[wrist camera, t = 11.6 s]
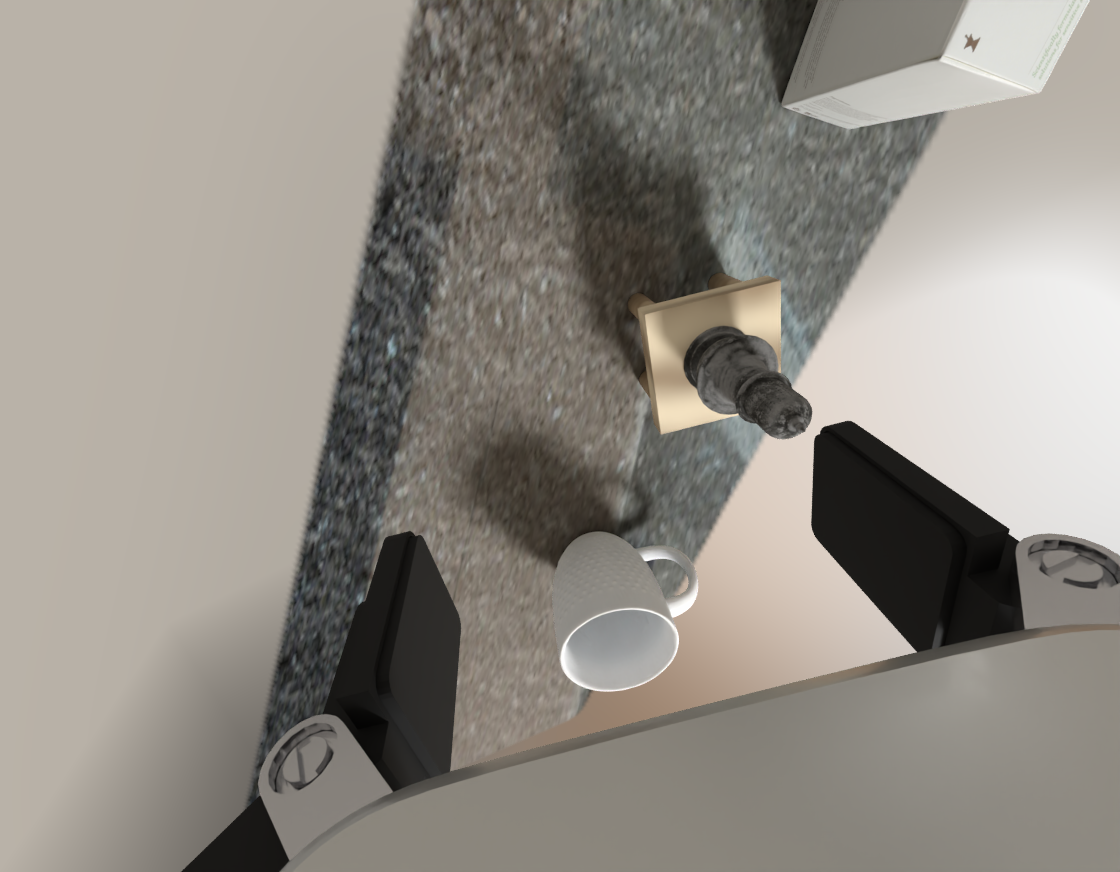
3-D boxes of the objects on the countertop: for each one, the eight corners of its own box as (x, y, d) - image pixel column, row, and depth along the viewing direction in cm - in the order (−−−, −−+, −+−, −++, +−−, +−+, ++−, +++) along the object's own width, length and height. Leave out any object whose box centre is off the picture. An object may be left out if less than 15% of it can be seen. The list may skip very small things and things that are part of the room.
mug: (663, 489, 53) (710, 577, 41) (683, 562, 58) (729, 658, 46) (531, 533, 53) (541, 632, 42) (562, 601, 58) (579, 706, 47)
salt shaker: (675, 333, 36) (749, 397, 26) (753, 312, 36) (859, 367, 26) (684, 404, 39) (754, 488, 28) (756, 385, 39) (853, 461, 28)
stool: (619, 291, 42) (644, 314, 35) (733, 263, 42) (780, 280, 35) (636, 395, 47) (661, 434, 40) (738, 370, 47) (780, 404, 40)
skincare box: (846, 131, 39) (1039, 106, 25) (772, 105, 37) (934, 64, 23) (903, -3, 35) (1166, -118, 21) (824, -37, 34) (1051, -184, 20)
